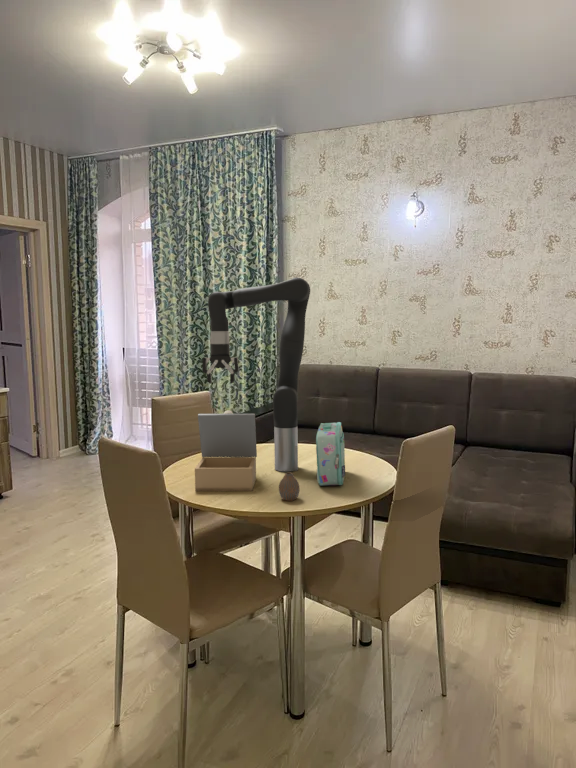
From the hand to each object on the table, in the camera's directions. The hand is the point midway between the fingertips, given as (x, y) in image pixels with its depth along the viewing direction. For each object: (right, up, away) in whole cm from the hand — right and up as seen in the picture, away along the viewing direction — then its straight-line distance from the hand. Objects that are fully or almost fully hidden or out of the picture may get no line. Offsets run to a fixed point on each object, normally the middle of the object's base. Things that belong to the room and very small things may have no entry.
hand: (220, 383), depth 225 cm
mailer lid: (+5, -20, -18) cm, 27 cm away
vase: (+27, -39, -39) cm, 61 cm away
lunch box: (+43, -36, -16) cm, 58 cm away
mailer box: (+5, -37, -21) cm, 43 cm away
